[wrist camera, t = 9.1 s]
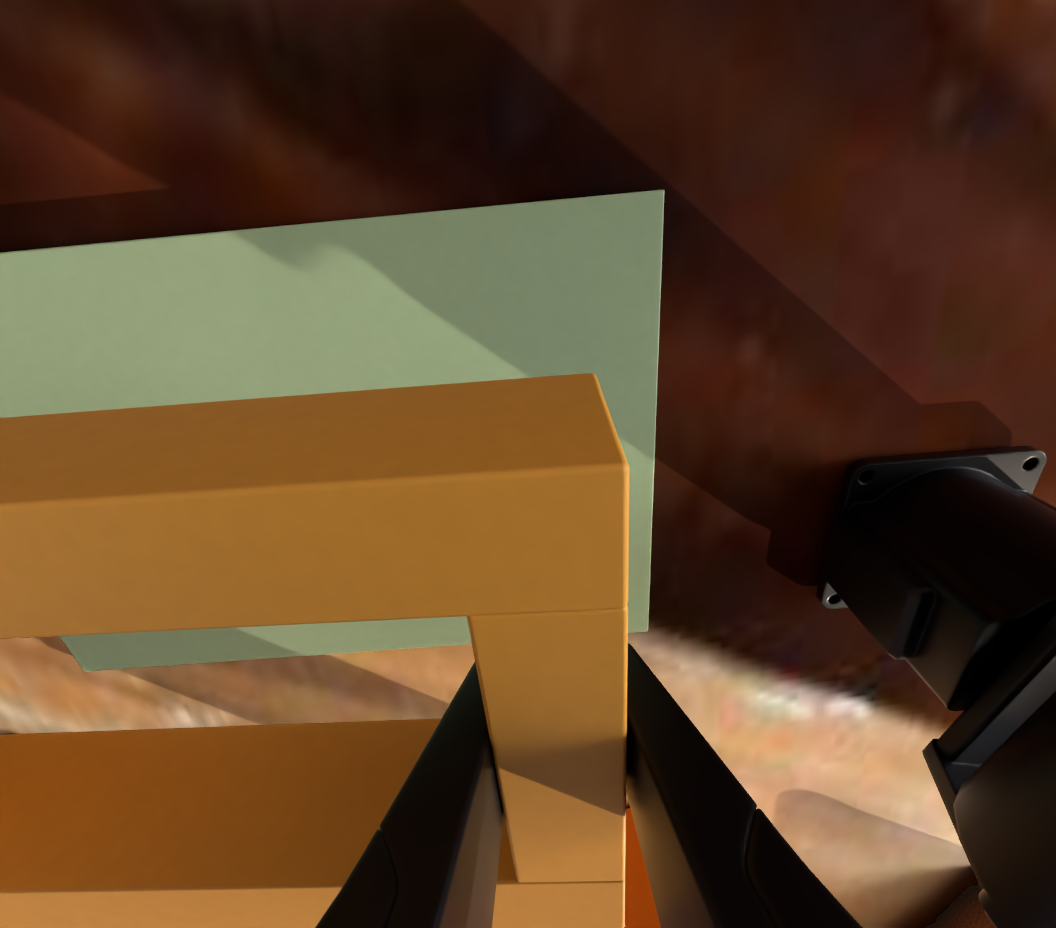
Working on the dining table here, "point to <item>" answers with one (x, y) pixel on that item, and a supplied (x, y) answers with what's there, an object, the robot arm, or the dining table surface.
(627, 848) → the spray bottle
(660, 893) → the robot arm
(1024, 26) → the dining table surface
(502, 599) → the rectangular frame
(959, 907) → the sunglasses case
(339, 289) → the mat
